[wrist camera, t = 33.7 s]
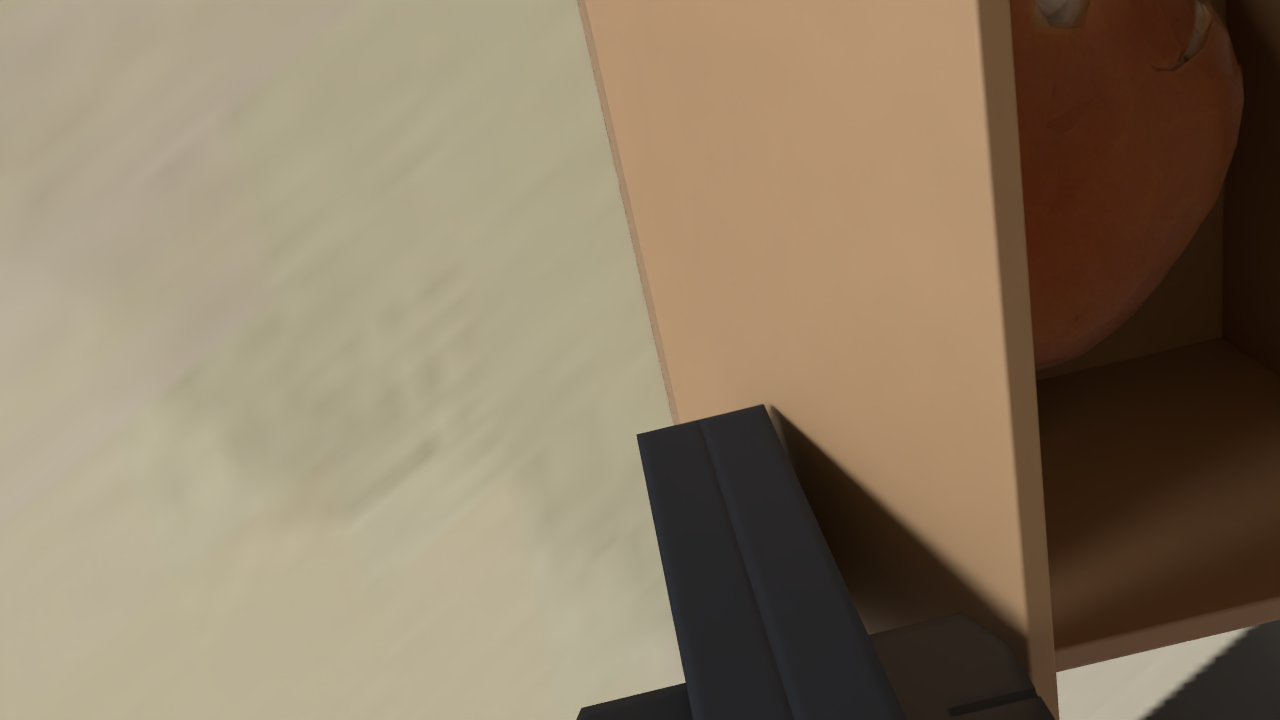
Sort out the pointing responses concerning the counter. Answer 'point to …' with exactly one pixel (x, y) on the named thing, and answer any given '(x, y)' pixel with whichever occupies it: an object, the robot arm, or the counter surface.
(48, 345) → the counter surface
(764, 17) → the flap
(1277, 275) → the carton
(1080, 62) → the burger
